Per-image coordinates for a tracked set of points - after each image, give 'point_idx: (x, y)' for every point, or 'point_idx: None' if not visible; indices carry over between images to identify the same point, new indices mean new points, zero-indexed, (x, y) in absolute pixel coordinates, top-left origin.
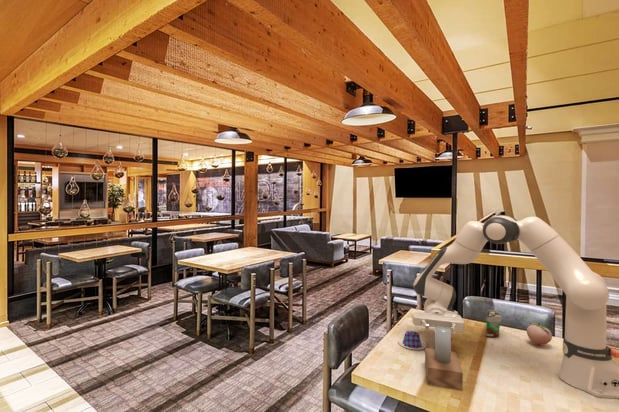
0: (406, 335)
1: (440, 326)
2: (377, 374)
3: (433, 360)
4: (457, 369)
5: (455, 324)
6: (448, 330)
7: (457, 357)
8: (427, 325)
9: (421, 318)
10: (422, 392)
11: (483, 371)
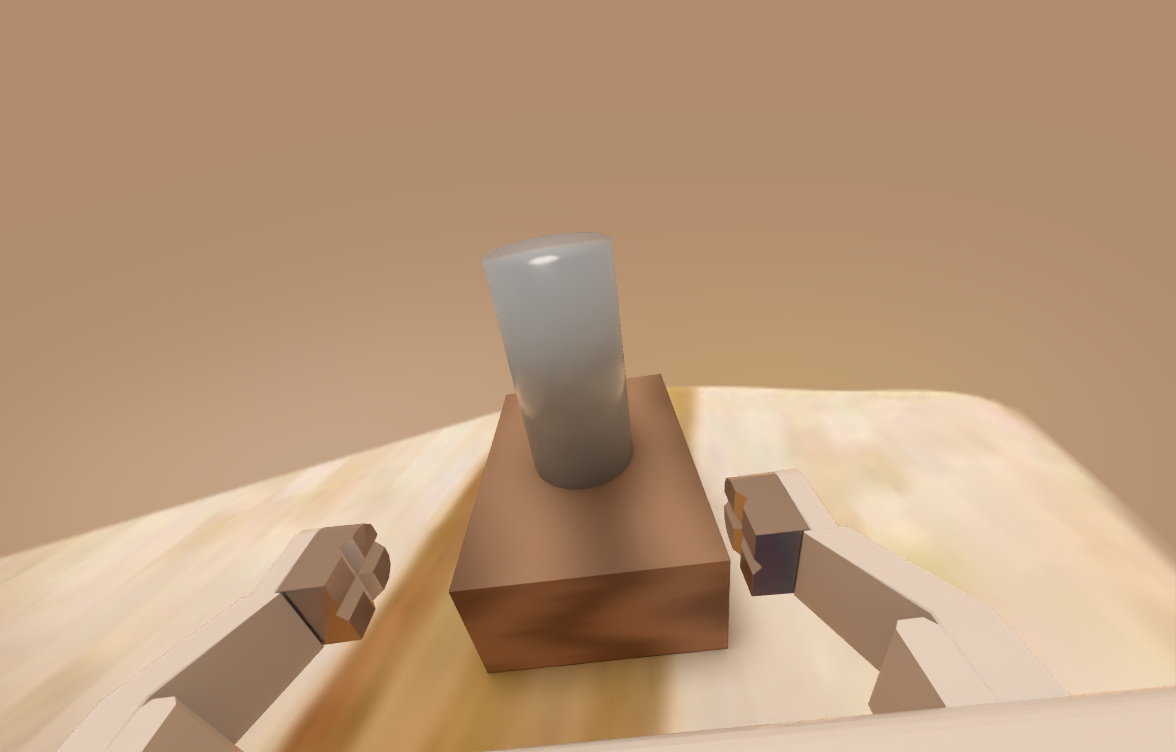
0: None
1: (557, 262)
2: (907, 421)
3: (639, 425)
4: None
5: (105, 705)
6: (505, 251)
7: (473, 508)
8: (749, 478)
9: (1110, 694)
10: (677, 401)
11: (284, 698)
